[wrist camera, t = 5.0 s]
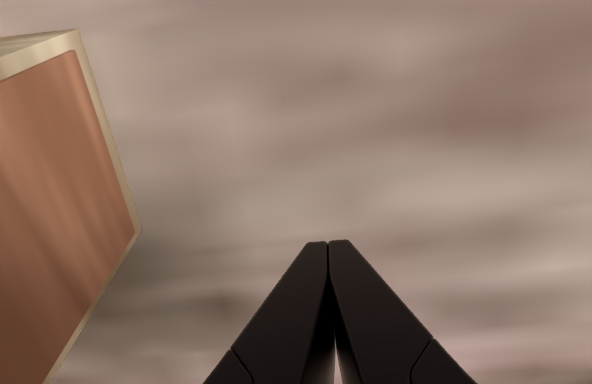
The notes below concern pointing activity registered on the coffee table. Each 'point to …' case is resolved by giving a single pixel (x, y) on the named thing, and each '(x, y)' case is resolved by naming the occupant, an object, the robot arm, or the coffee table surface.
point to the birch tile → (55, 202)
